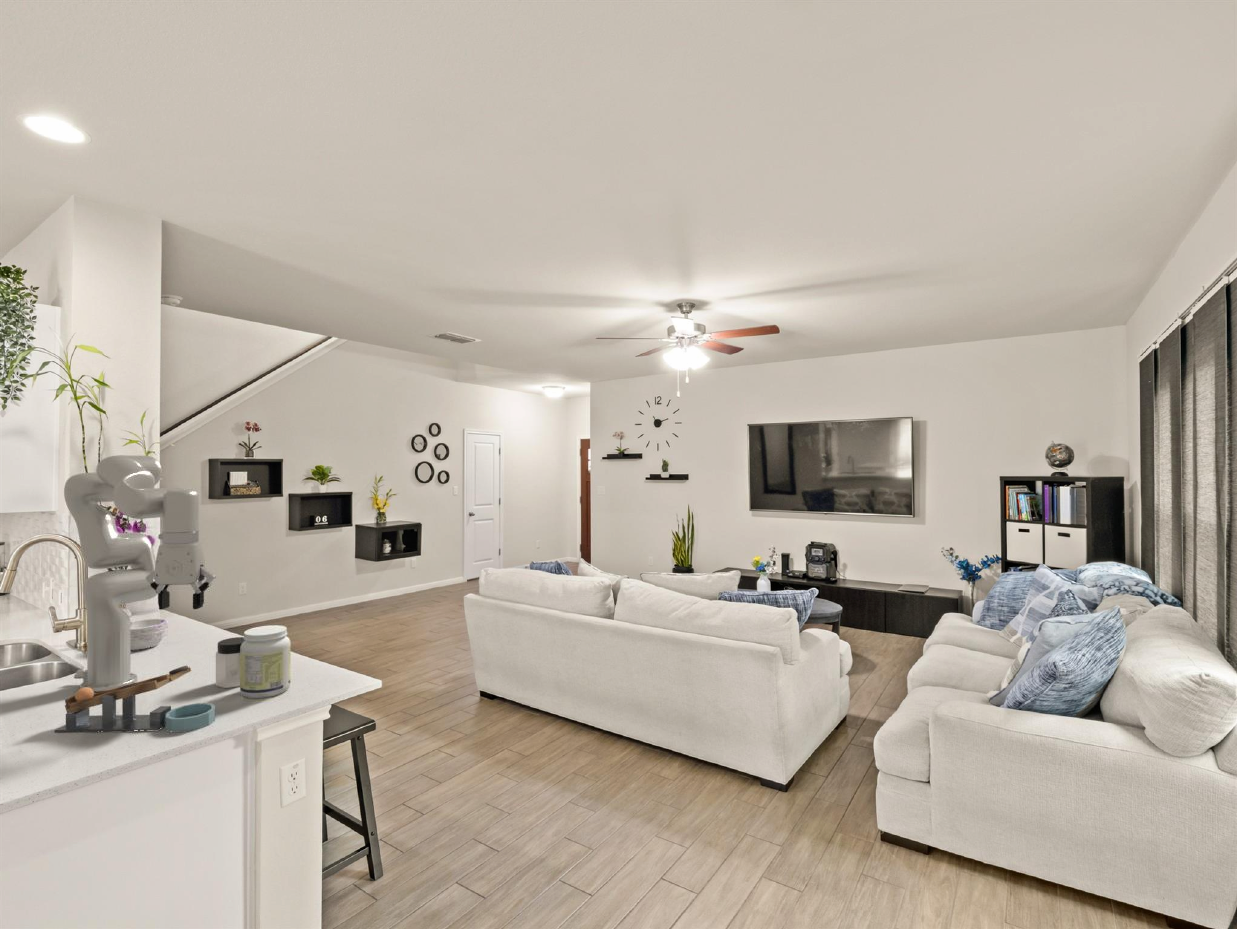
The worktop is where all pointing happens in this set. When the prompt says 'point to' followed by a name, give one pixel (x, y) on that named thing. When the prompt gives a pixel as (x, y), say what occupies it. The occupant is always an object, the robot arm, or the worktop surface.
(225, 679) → the jar
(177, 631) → the worktop surface
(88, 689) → the ball
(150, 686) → the lever
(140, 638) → the paper bowls
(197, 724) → the dish
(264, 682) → the supplement tub
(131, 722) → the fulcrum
